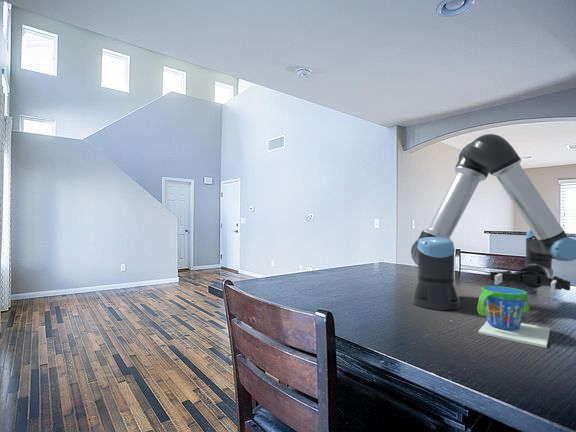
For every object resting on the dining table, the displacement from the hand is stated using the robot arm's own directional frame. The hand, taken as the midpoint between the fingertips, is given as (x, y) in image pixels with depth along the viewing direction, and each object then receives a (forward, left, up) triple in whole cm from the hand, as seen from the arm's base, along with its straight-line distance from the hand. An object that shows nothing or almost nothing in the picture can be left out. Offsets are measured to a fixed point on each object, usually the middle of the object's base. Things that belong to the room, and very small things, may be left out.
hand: (522, 283), depth 94 cm
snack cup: (-8, -9, -11) cm, 16 cm away
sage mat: (-6, -11, -11) cm, 17 cm away
